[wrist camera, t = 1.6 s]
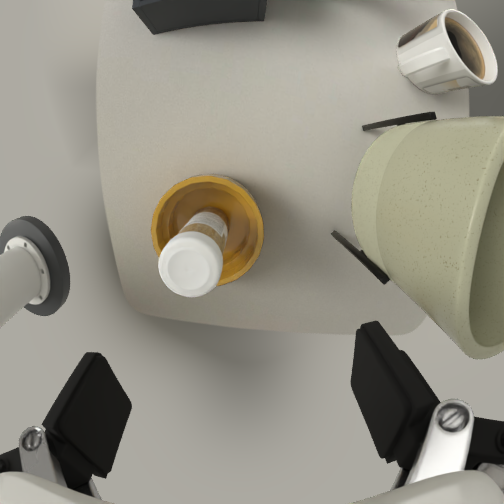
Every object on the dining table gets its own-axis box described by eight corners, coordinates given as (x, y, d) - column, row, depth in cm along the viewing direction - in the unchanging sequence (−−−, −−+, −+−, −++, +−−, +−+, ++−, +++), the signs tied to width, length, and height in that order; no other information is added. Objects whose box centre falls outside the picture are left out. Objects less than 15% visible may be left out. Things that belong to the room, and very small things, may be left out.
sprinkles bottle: (216, 250, 32) (199, 310, 19) (183, 229, 31) (146, 277, 18) (238, 219, 31) (234, 262, 18) (204, 197, 30) (176, 225, 17)
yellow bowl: (170, 272, 33) (161, 288, 29) (157, 180, 29) (144, 183, 25) (263, 266, 33) (266, 282, 29) (257, 170, 29) (260, 171, 25)
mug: (449, 108, 26) (502, 102, 16) (382, 81, 26) (433, 59, 15) (444, 49, 23) (490, 33, 12) (379, 19, 22) (419, -14, 12)
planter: (406, 261, 34) (520, 356, 12) (305, 232, 32) (406, 362, 10) (437, 160, 29) (577, 187, 7) (339, 111, 27) (492, 58, 5)
